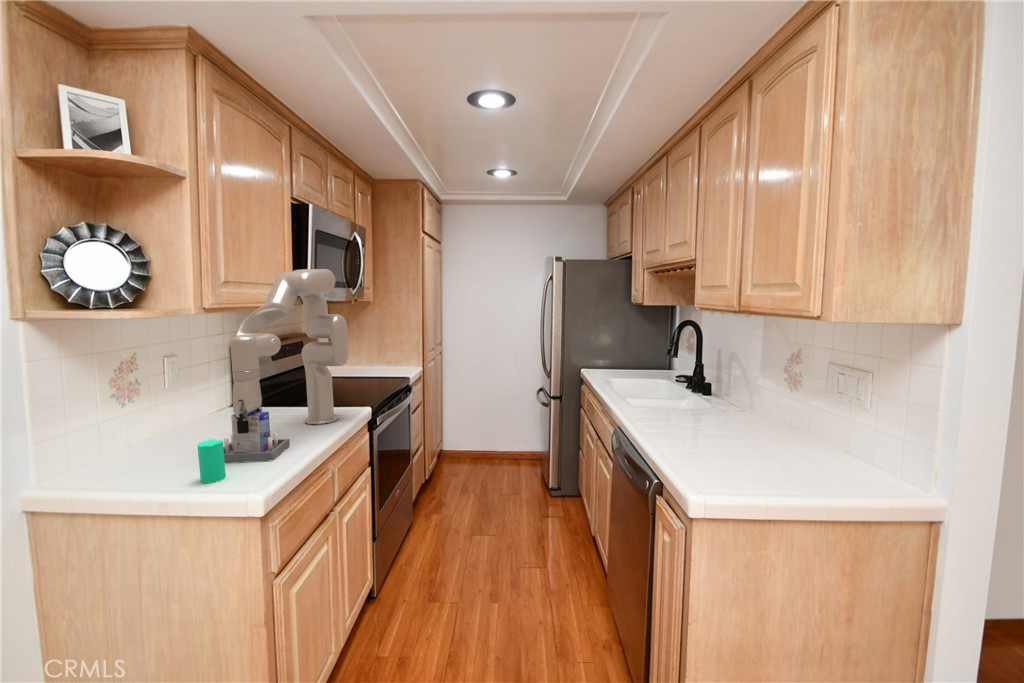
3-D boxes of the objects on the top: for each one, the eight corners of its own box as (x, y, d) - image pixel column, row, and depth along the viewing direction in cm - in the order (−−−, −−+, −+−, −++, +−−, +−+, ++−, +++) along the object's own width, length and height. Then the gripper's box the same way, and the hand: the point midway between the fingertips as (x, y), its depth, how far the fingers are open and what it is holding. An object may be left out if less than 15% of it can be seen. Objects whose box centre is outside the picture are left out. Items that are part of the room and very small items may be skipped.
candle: (199, 478, 138) (196, 436, 136) (224, 473, 141) (221, 432, 140) (201, 485, 133) (197, 441, 132) (227, 479, 136) (223, 437, 135)
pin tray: (233, 448, 163) (232, 431, 163) (289, 446, 165) (288, 428, 164) (211, 463, 149) (209, 444, 149) (272, 461, 151) (271, 442, 150)
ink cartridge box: (272, 448, 160) (269, 404, 158) (261, 453, 154) (258, 408, 153) (244, 447, 161) (241, 403, 159) (232, 452, 155) (229, 407, 154)
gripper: (246, 371, 163) (250, 421, 164) (220, 380, 145) (224, 437, 147) (270, 370, 163) (273, 420, 165) (246, 380, 146) (250, 436, 148)
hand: (250, 428), depth 156 cm, fingers open, 9 cm apart
